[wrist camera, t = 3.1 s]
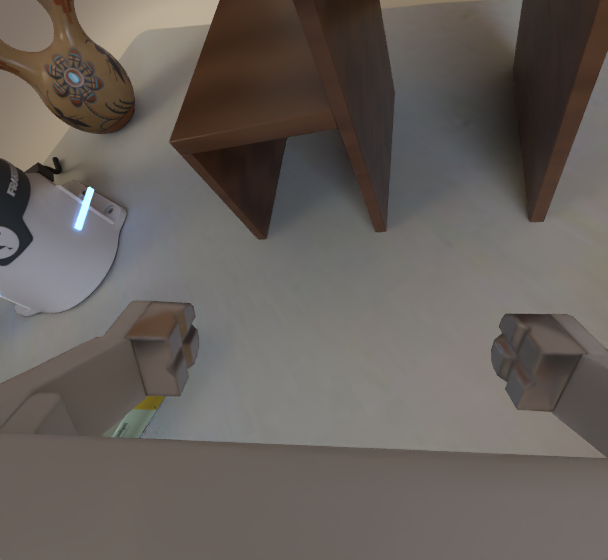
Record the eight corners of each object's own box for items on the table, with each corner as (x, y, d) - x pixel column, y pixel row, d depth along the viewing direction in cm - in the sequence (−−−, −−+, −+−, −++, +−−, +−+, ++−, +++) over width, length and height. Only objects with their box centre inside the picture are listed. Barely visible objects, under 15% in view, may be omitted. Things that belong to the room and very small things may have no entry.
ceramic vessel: (85, 167, 58) (-130, 0, 37) (77, 138, 62) (-117, -25, 41) (168, 104, 57) (-3, -106, 36) (153, 79, 61) (-5, -119, 40)
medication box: (121, 472, 34) (85, 478, 30) (103, 454, 35) (67, 458, 31) (193, 356, 36) (168, 349, 32) (174, 343, 37) (147, 334, 33)
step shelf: (544, 221, 30) (797, -454, 8) (258, 239, 39) (7, -34, 17) (524, 65, 36) (628, -530, 14) (284, 114, 46) (128, -198, 24)
